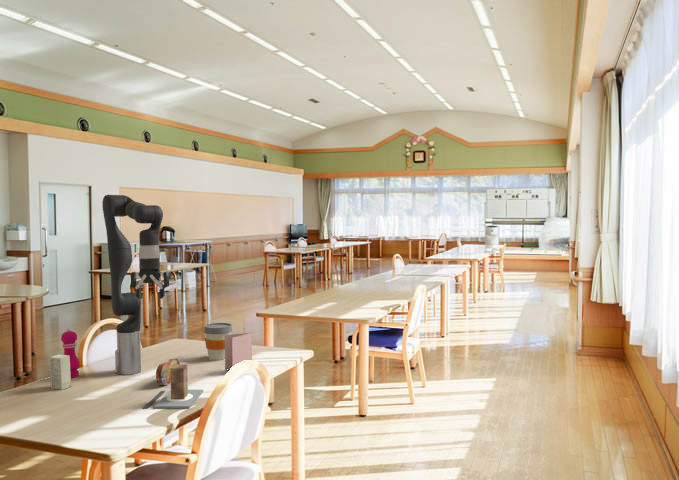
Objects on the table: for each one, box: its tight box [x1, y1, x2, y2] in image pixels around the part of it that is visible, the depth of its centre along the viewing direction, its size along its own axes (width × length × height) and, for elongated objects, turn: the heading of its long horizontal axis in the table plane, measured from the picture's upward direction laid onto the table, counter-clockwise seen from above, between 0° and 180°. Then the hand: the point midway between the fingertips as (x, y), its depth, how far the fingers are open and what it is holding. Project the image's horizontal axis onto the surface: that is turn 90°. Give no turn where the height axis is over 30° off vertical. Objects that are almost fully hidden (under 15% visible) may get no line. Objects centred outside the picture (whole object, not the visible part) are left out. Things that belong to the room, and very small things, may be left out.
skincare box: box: [49, 353, 72, 390], centre depth 212 cm, size 6×4×12 cm
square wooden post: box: [170, 364, 189, 399], centre depth 197 cm, size 5×5×11 cm
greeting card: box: [224, 332, 253, 371], centre depth 234 cm, size 11×7×15 cm, turn 110°
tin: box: [155, 358, 181, 386], centre depth 219 cm, size 15×3×8 cm, turn 168°
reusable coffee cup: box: [203, 322, 233, 361], centre depth 255 cm, size 13×13×15 cm
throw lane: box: [142, 389, 204, 410], centre depth 198 cm, size 16×18×1 cm
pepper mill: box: [60, 327, 80, 379], centre depth 227 cm, size 7×7×20 cm
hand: (150, 298), depth 216 cm, fingers open, 8 cm apart
